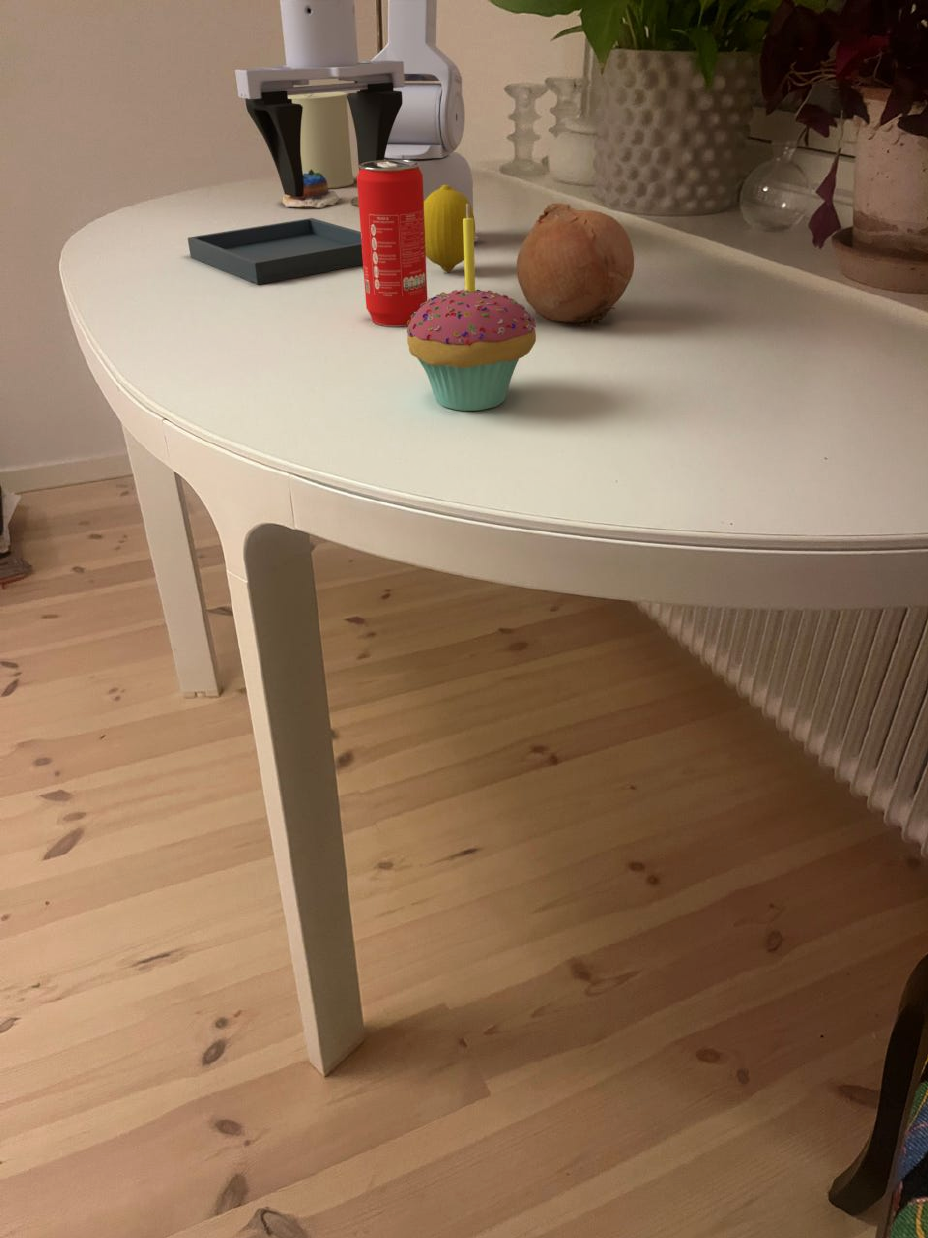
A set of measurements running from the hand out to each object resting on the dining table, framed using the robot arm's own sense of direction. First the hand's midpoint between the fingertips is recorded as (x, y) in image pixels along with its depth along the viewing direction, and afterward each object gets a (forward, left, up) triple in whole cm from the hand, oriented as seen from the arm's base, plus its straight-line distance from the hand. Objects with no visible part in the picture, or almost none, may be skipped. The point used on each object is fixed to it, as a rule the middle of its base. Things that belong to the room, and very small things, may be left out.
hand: (333, 189), depth 81 cm
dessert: (-22, -44, -9) cm, 50 cm away
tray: (-4, -18, -9) cm, 20 cm away
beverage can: (0, +8, -9) cm, 13 cm away
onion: (-11, +18, -9) cm, 24 cm away
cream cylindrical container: (-31, -56, -9) cm, 65 cm away
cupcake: (+7, +27, -9) cm, 30 cm away
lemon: (-13, -2, -9) cm, 16 cm away
